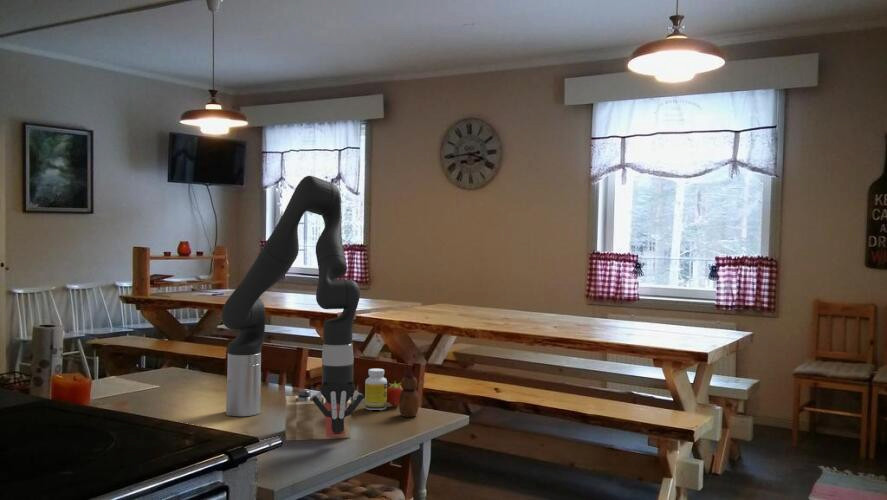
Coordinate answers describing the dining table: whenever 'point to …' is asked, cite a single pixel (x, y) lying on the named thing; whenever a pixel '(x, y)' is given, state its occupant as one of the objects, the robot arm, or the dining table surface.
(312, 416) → the hitch block
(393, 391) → the fruit
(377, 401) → the pill bottle
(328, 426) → the keeper tab
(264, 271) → the robot arm
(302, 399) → the steel pin
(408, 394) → the wooden figurine
